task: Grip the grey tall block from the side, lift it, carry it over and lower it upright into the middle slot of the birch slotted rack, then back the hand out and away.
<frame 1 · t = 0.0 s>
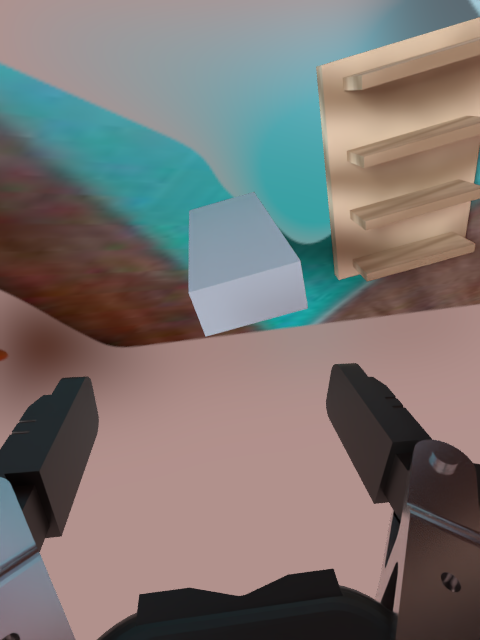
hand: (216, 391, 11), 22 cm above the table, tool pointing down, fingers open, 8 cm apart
grey tall block: (226, 217, 30), on the table
rack: (397, 167, 30), on the table
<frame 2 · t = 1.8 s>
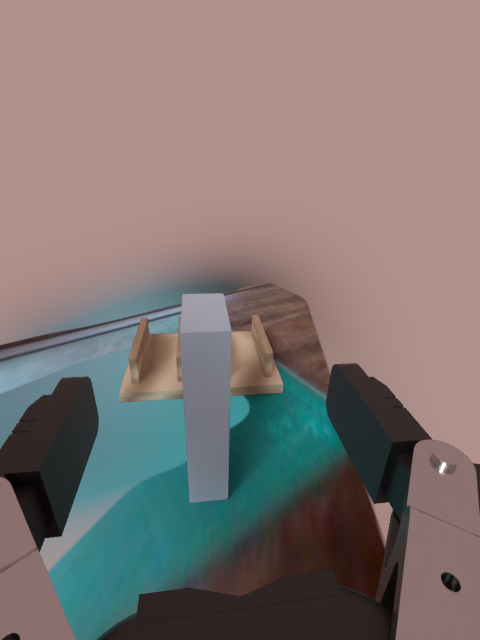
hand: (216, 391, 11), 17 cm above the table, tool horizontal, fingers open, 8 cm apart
grey tall block: (207, 468, 29), on the table
rack: (202, 364, 43), on the table
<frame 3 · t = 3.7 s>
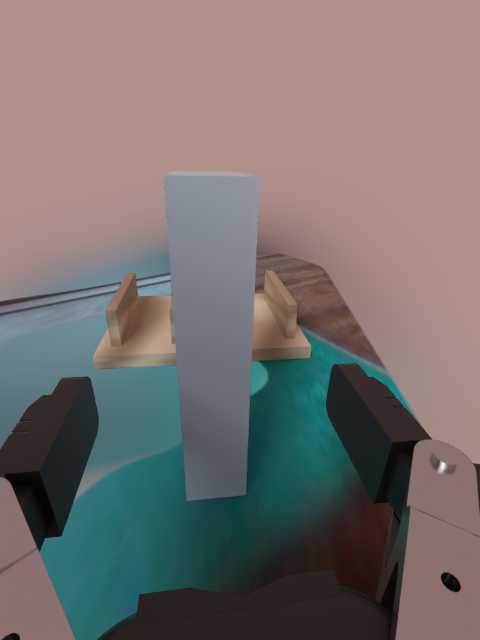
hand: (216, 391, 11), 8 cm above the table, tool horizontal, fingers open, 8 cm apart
grey tall block: (213, 451, 20), on the table
rack: (204, 328, 34), on the table
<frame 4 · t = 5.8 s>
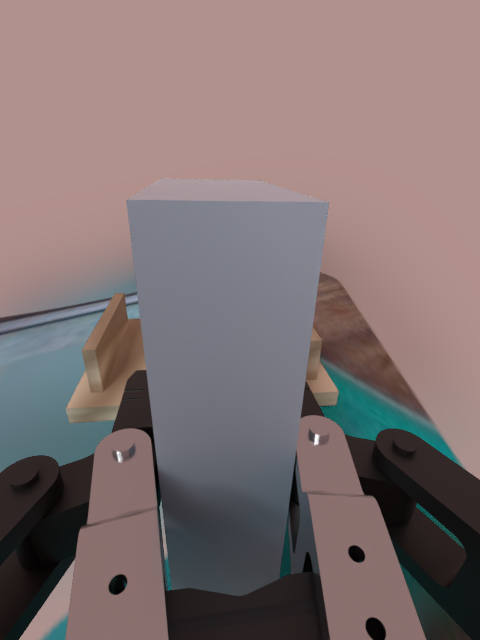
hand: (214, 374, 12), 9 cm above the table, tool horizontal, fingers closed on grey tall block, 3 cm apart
grey tall block: (219, 567, 14), on the table, touching gripper
rack: (206, 361, 28), on the table
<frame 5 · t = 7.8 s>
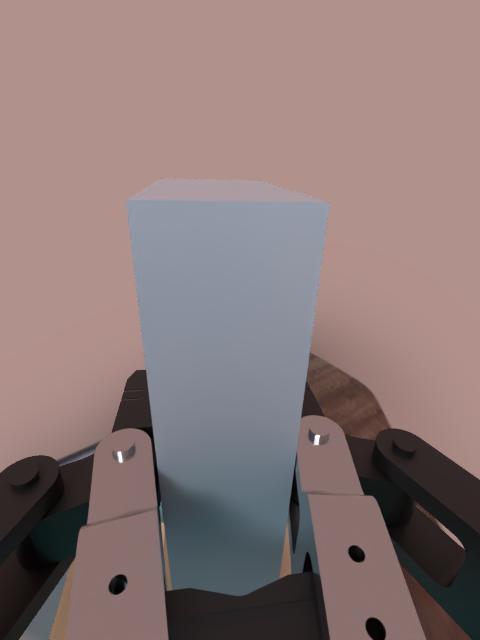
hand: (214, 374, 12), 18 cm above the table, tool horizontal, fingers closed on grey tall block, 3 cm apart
grey tall block: (219, 568, 14), point 9 cm above the table, touching gripper
rack: (217, 639, 19), on the table
when the fingers open (10 cm above the table, at t = 9.9 s): grey tall block stays where it is, resting on rack.
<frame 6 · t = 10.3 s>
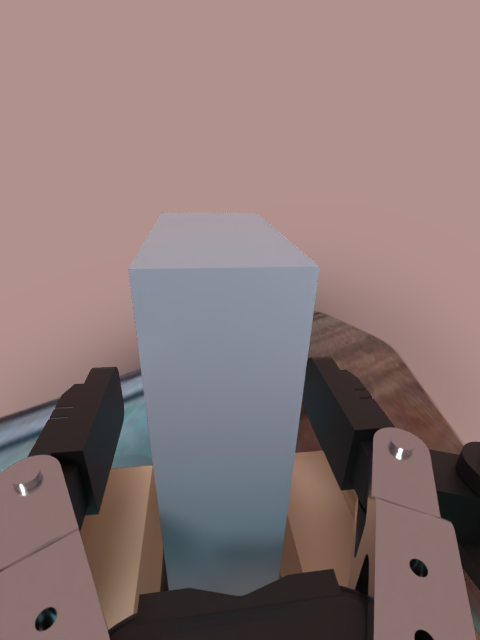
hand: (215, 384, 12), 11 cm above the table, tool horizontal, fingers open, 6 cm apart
grey tall block: (218, 583, 14), point 1 cm above the table, touching rack
rack: (218, 595, 15), on the table
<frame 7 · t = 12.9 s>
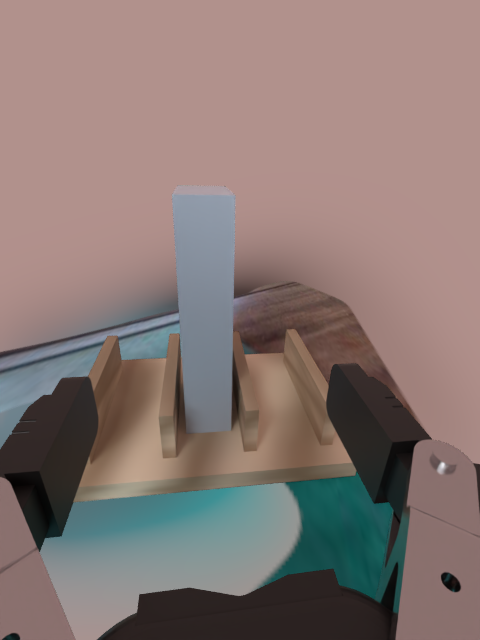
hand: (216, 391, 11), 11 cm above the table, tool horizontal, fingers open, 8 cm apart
grey tall block: (207, 402, 25), point 1 cm above the table, touching rack
rack: (207, 414, 26), on the table
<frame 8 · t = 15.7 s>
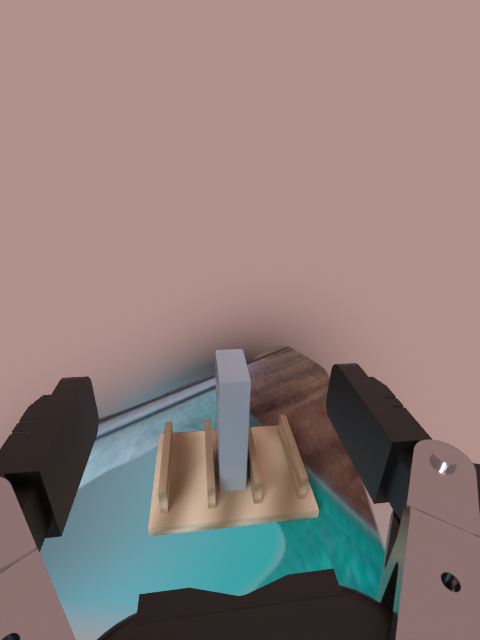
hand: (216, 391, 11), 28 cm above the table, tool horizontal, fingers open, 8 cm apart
grey tall block: (230, 468, 40), point 1 cm above the table, touching rack
rack: (230, 474, 41), on the table
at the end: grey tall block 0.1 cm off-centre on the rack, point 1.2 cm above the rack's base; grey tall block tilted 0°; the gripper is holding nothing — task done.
